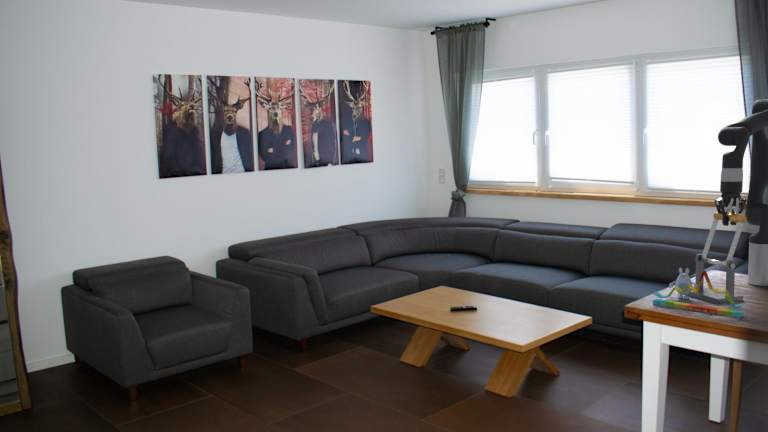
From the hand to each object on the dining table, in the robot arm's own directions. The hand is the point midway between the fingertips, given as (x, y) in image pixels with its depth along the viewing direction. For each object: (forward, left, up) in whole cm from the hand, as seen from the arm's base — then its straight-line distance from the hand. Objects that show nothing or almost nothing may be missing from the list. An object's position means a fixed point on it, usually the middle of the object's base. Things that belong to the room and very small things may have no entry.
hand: (729, 225), depth 261 cm
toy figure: (+17, -5, -28) cm, 33 cm away
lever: (+7, 0, -14) cm, 15 cm away
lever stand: (+7, 0, -28) cm, 29 cm away
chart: (+25, +10, -28) cm, 39 cm away
